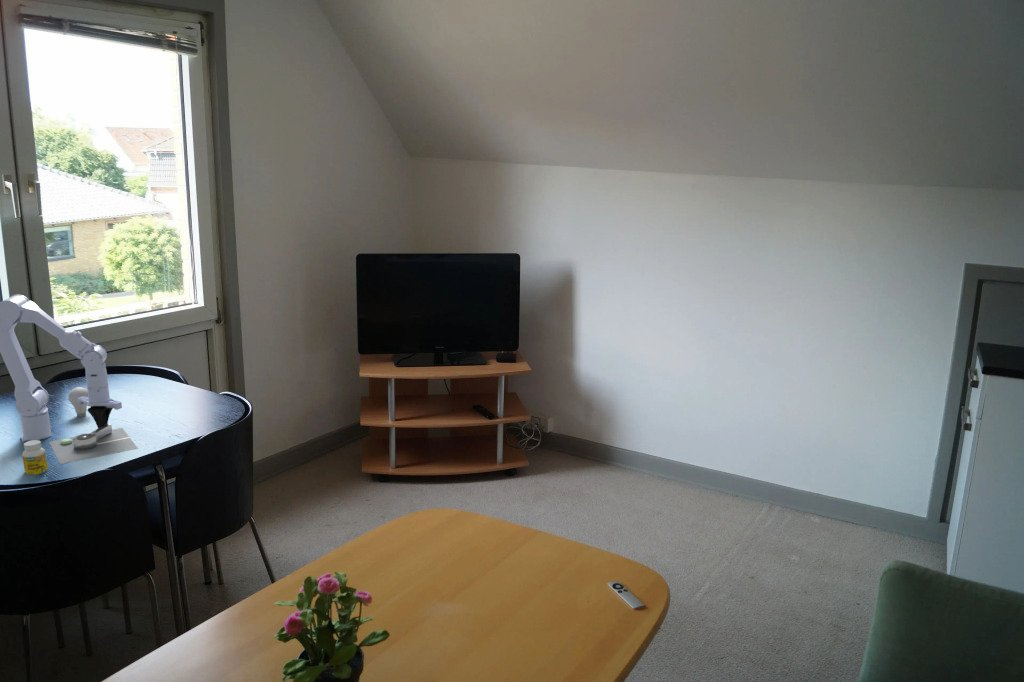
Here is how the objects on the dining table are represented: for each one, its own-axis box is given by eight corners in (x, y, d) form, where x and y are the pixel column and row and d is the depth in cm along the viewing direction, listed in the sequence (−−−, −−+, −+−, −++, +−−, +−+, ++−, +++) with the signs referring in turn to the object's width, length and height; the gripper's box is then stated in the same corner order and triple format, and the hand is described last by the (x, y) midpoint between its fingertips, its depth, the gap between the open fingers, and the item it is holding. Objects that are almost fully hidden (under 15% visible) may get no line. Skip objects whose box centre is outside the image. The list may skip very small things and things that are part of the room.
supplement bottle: (47, 470, 219) (43, 437, 217) (49, 477, 215) (44, 444, 213) (25, 474, 217) (20, 441, 214) (26, 481, 212) (21, 447, 210)
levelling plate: (49, 446, 235) (48, 439, 235) (122, 432, 247) (121, 425, 247) (61, 469, 220) (60, 461, 220) (138, 453, 232) (137, 445, 231)
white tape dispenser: (88, 450, 229) (87, 440, 228) (69, 449, 230) (68, 439, 229) (118, 432, 243) (117, 423, 242) (100, 431, 244) (99, 421, 243)
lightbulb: (95, 419, 257) (91, 387, 254) (75, 424, 253) (71, 391, 250) (88, 415, 261) (84, 383, 258) (68, 419, 257) (64, 387, 254)
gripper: (67, 387, 238) (73, 430, 241) (107, 392, 234) (112, 436, 237) (86, 380, 244) (91, 422, 248) (125, 385, 240) (129, 428, 244)
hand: (102, 428), depth 243 cm, fingers closed
